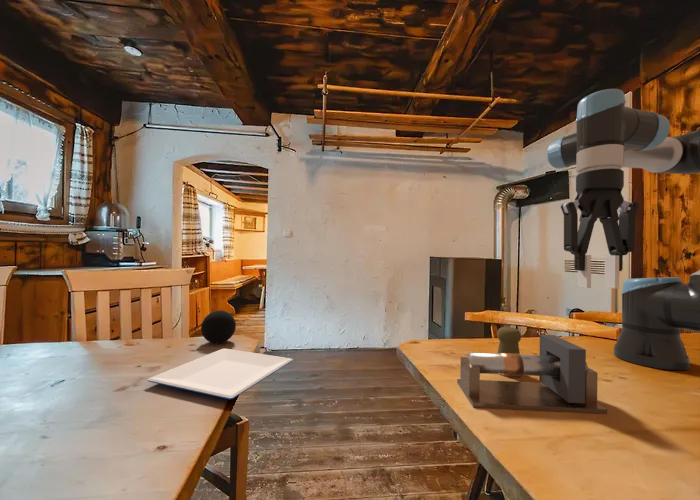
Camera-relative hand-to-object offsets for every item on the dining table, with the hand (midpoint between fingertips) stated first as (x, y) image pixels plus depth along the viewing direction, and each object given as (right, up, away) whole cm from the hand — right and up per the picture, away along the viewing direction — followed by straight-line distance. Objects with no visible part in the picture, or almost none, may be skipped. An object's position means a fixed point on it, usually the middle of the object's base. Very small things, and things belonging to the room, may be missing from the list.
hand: (597, 287), depth 62 cm
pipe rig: (-14, -22, +1) cm, 27 cm away
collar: (-7, -21, 0) cm, 22 cm away
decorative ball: (-91, -22, +34) cm, 100 cm away
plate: (-79, -22, +9) cm, 82 cm away
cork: (-11, -23, +13) cm, 29 cm away
